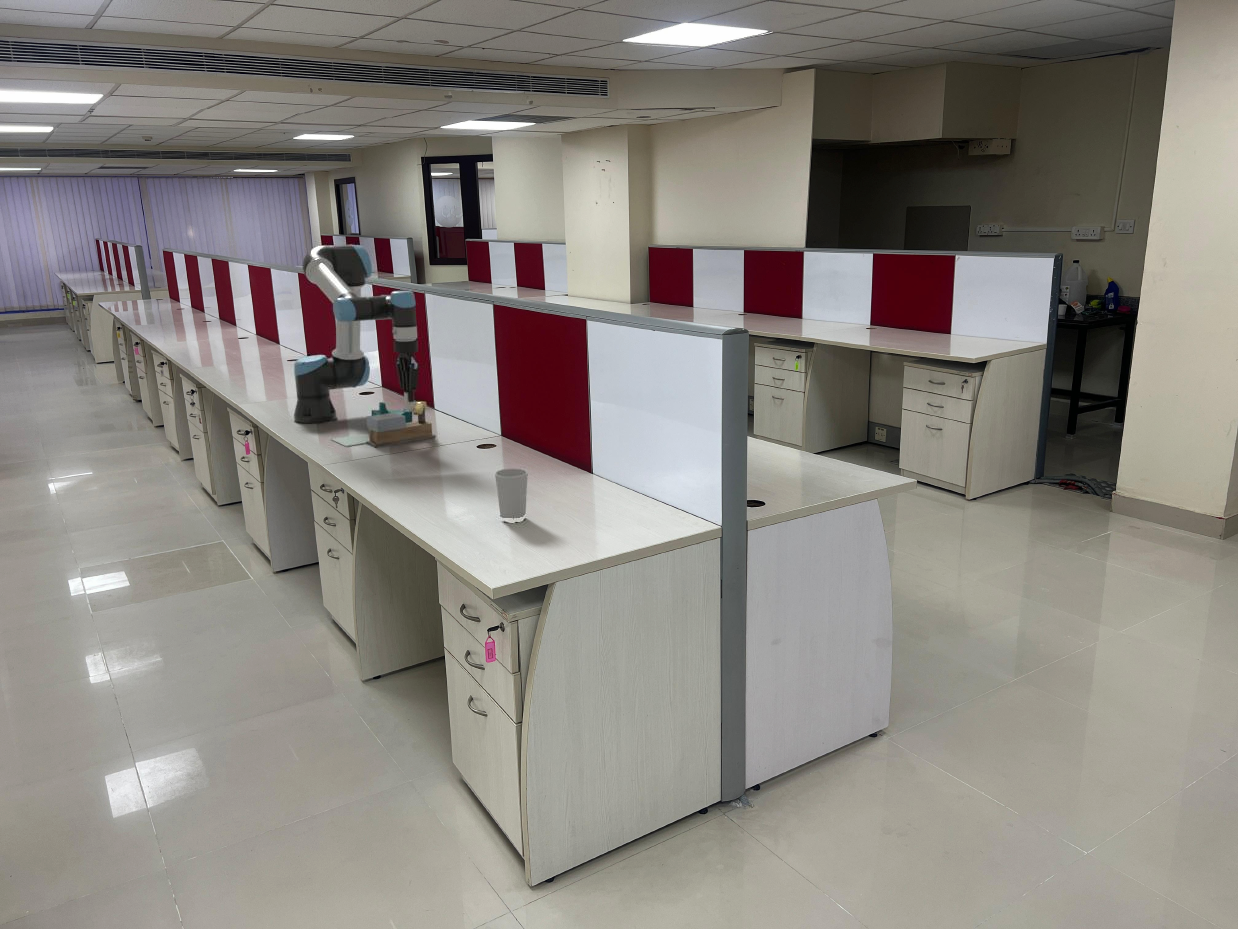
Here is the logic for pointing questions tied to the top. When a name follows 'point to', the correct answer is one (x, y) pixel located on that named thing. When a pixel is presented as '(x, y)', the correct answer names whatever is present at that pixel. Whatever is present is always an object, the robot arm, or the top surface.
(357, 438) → the mat
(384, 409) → the teal notched cradle
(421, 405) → the lever
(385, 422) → the gray rectangular block
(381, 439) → the plane body
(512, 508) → the cup
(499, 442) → the top surface
